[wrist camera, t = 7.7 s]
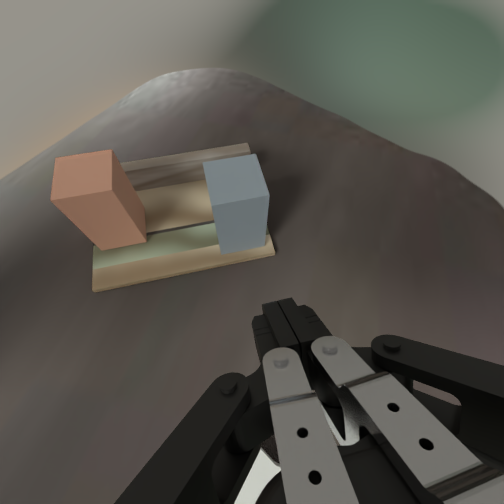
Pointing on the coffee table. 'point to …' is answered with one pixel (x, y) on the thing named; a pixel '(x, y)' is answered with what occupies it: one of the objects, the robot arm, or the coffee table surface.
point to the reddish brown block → (99, 199)
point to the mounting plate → (258, 478)
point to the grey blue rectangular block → (238, 202)
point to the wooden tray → (172, 223)
